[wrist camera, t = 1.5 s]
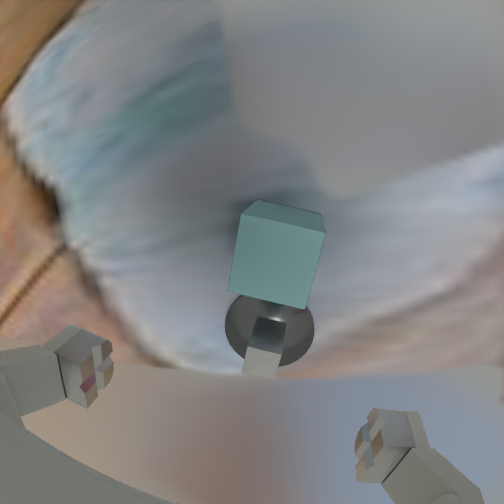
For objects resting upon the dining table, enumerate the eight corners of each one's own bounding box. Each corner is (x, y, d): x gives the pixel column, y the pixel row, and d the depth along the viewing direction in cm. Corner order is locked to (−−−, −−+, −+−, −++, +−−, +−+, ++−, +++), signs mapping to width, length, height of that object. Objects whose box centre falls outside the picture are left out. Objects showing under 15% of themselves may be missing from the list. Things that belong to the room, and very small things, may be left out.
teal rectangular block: (245, 260, 27) (227, 290, 21) (257, 199, 26) (241, 213, 20) (305, 274, 27) (304, 309, 21) (320, 214, 25) (325, 233, 19)
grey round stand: (221, 351, 31) (204, 387, 25) (234, 278, 28) (217, 306, 23) (300, 371, 30) (298, 409, 24) (324, 299, 27) (327, 332, 22)
